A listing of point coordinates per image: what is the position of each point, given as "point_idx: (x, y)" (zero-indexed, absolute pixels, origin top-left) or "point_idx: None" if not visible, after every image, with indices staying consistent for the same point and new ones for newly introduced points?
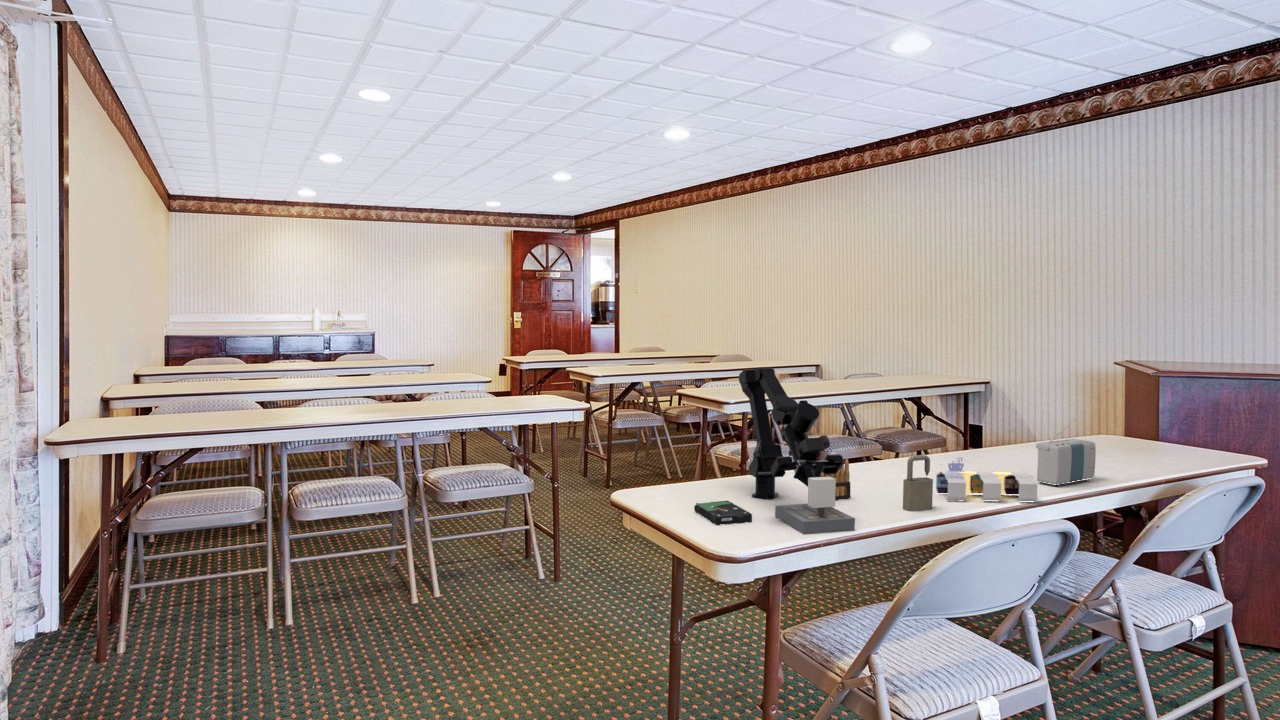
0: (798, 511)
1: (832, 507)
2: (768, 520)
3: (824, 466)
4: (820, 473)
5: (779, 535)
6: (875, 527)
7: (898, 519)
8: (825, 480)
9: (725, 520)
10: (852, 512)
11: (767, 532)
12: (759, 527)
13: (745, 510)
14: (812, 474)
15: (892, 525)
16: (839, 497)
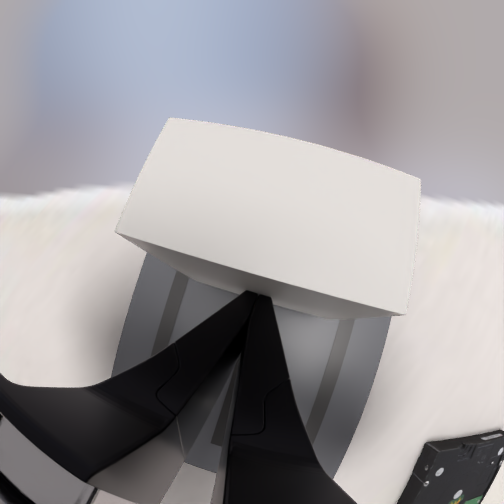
0: (312, 386)
1: (118, 351)
2: (371, 445)
3: (3, 377)
4: (111, 380)
5: (452, 277)
6: (112, 194)
7: (21, 227)
8: (284, 142)
9: (492, 435)
10: (43, 354)
11: (462, 321)
12: (449, 380)
13: (421, 491)
14: (164, 467)
15: (67, 190)
16: None
